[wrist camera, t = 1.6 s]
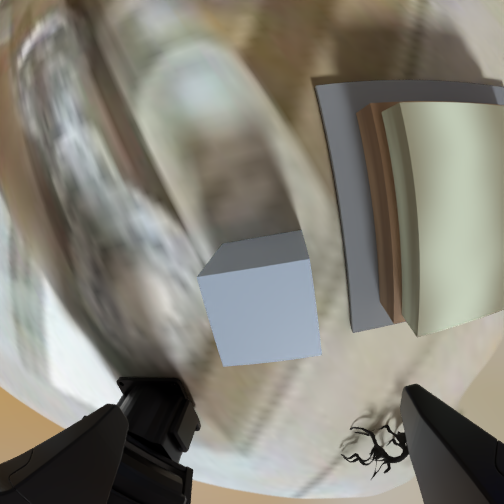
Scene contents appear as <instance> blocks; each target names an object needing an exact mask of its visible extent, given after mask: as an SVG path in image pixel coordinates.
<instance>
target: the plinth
mask: <svg viewBox="0 0 504 504" xmlns="http://www.w3.org/2000/svg"><path fill="white" fill-rule="evenodd" d="M356 115H357V120H358V124H359V129H360V134H361V139H362V144H363V149H364V155H365V160H366V166H367V172H368V178H369V185H370V192H371V199H372V207H373V215H374V224H375V233H376V244H377V257H378V272H379V293H380V303H381V305H382V306H383V308H384V309H385V311H386V312H387V314H388V316H389V317H390V319H391V320H392V322H393V324H396V323H400V322H405V321H406V322H407V323H408V325H409V326H410V327H411V329H412V330H413V332H414V333H415V335H416V336H417V337H421V336H424V335H428V334H432V333H435V332H439V331H442V330H445V329H449V328H452V327H455V326H458V325H461V324H465V323H468V322H471V321H474V320H477V319H479V318H482V317H485V316H488V315H491V314H493V313H496V312H499V311H501V310H504V105H498V104H487V103H474V102H454V101H403V102H381V103H370V104H368V105H367V106H366V107H364V108H363V109H361V110H360V111H359V112H357V113H356Z"/></svg>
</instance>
